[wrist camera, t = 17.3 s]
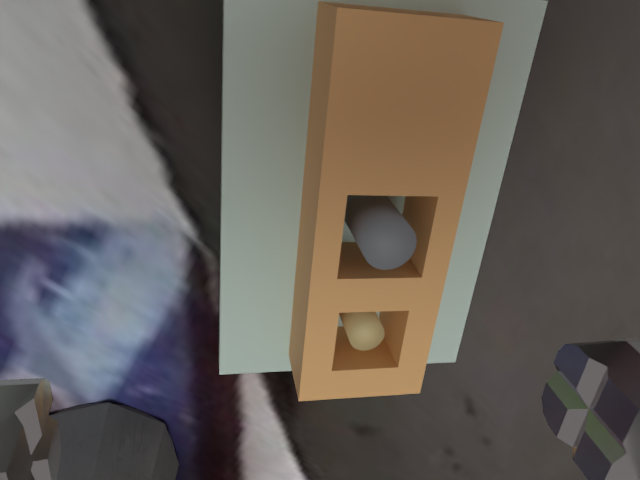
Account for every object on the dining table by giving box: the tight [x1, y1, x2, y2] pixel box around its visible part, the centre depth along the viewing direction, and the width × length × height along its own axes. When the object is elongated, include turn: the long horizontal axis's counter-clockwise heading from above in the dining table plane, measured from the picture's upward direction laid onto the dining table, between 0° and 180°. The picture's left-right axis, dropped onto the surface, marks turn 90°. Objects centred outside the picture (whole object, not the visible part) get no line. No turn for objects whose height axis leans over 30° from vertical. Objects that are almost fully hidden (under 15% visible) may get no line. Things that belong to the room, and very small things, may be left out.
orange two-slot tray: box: [289, 1, 504, 401], centre depth 25 cm, size 18×6×4 cm, turn 174°
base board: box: [219, 0, 548, 375], centre depth 25 cm, size 20×14×6 cm
